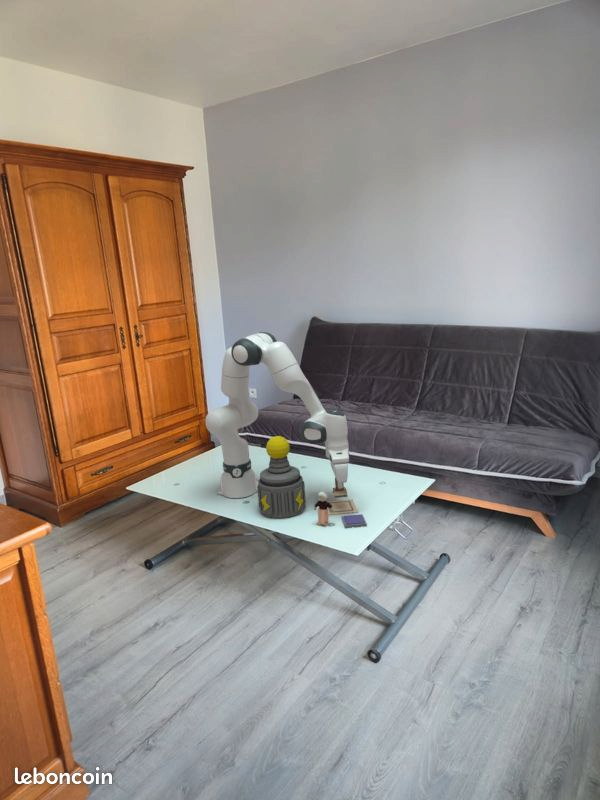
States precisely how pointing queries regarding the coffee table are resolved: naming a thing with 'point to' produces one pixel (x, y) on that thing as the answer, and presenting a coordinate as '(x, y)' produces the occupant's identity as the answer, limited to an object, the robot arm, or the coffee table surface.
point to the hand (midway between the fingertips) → (339, 485)
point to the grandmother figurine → (323, 509)
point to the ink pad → (354, 521)
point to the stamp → (339, 491)
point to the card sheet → (342, 507)
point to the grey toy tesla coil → (280, 483)
